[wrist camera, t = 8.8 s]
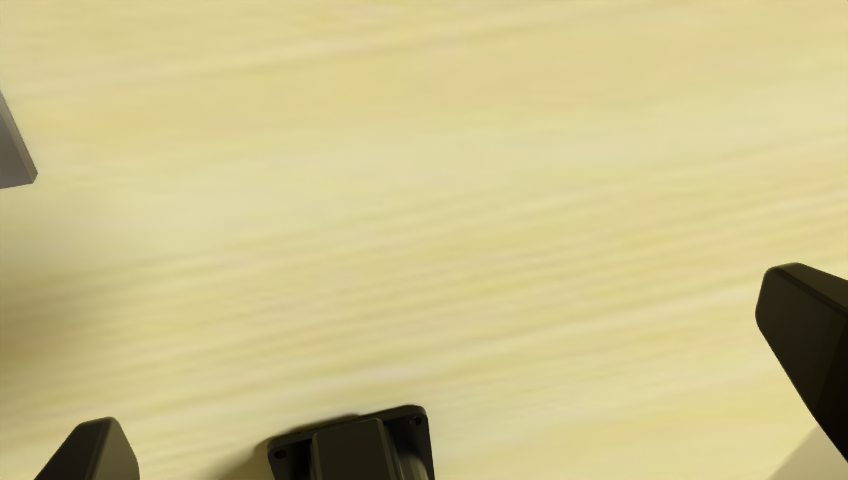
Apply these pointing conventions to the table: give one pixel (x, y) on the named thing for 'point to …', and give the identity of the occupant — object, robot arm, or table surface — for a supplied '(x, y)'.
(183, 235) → the table surface
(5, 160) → the socket
